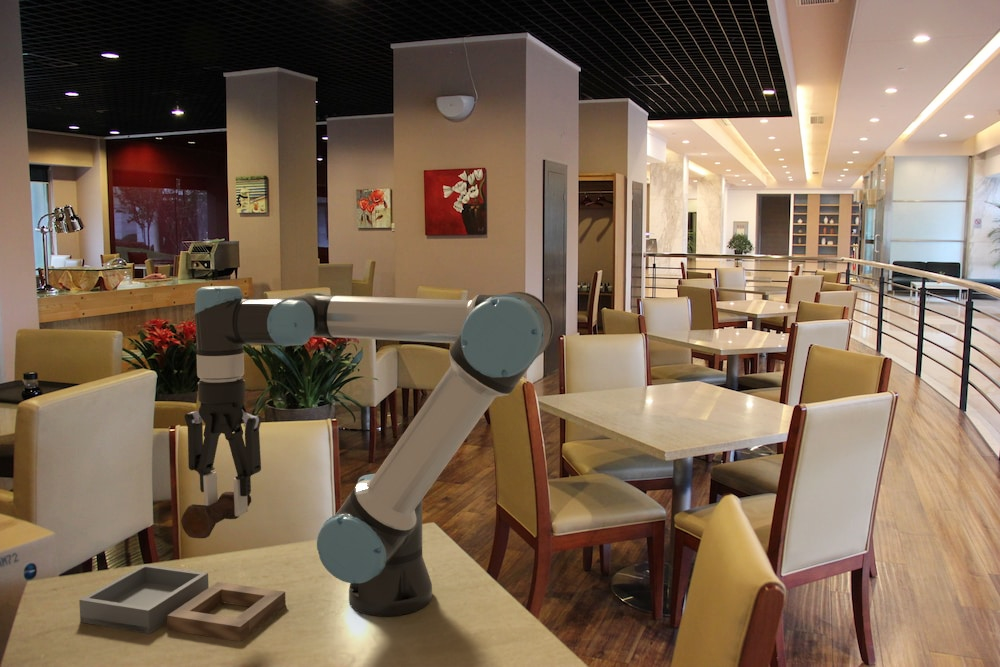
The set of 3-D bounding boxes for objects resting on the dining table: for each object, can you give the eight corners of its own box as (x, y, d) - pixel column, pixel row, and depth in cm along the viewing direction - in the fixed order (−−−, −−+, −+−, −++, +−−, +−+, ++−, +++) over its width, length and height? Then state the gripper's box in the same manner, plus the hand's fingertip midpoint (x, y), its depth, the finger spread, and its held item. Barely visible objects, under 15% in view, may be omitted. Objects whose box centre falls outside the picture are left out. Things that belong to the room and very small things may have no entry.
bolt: (240, 477, 145) (191, 499, 130) (262, 493, 144) (215, 516, 129) (225, 504, 146) (175, 528, 131) (248, 519, 145) (199, 546, 130)
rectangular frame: (285, 604, 146) (285, 591, 146) (240, 641, 133) (240, 626, 132) (218, 595, 150) (217, 582, 150) (167, 629, 136) (167, 615, 136)
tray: (208, 593, 150) (208, 572, 150) (149, 633, 135) (148, 610, 135) (145, 584, 154) (144, 564, 154) (80, 622, 139) (79, 599, 138)
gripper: (281, 377, 138) (285, 510, 140) (189, 372, 142) (194, 500, 145) (256, 384, 130) (261, 524, 133) (160, 379, 135) (166, 514, 138)
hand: (226, 511), depth 139 cm, fingers closed on bolt, 5 cm apart
